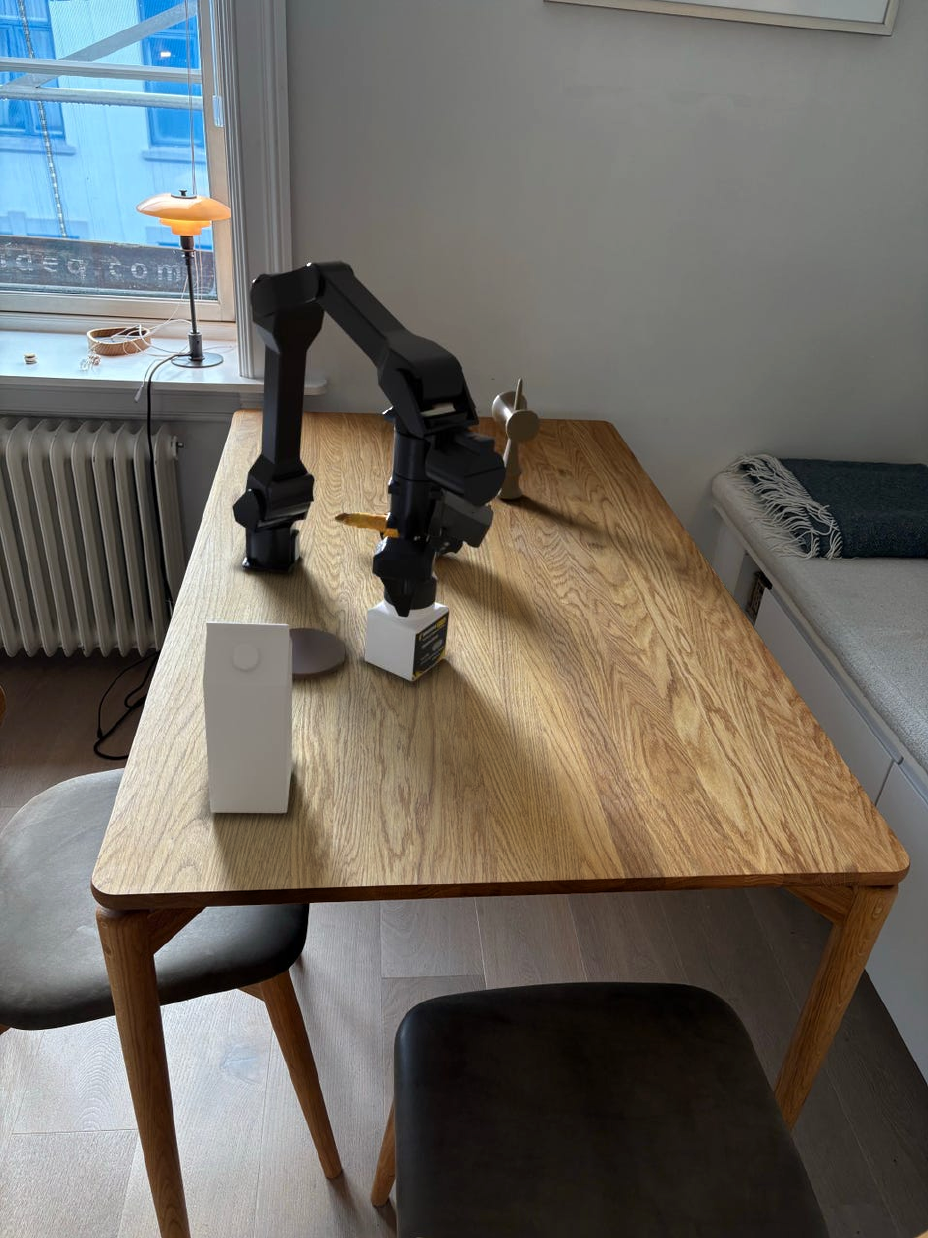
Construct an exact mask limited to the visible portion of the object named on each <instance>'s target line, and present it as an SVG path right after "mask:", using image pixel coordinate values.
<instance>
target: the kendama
mask: <svg viewBox="0 0 928 1238" xmlns="http://www.w3.org/2000/svg"><path fill="white" fill-rule="evenodd" d="M523 383H524V382H523V379H522V378H519V380H518V383H517V388H516V391H515V390H507V391H506V390H505V391H503V392H501V393H500V394H498V395H497V396H496V397H495V399H494V400H493V403H492V406H491V413H492V417H493V419H494V422H496V423H497V424H498V425H500V426H504V427H505V433H506V436H507V437H508V439H507V444H506V447H505V451H504V454H503V456H502V458H503V460H504V463H505V468H506V477H505V481H504V483H503V486H502V488H501V490H500V491H499V493H498V494H497V495H496V496H495V497H496V498H499V499H503V500H516V499H519V498H521V497H522V495H523V492H522V488H521V487H520V476H521V475H522V474H523V472H524V471H523V468H522V467H521V465H520V456H519V455H520V454H519V444H526V443H529V442H532V441H533V440H535V438H536V437H537V436H538V435H539V431H540V429H541V424H540V423H541V420H540V417H539V416H538V414H537V413H536V412H534V411H533V410H529V409H528V401H527V399H526V396H525V395H524V394H523V385H524V384H523Z"/></svg>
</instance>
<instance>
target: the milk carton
mask: <svg viewBox="0 0 928 1238" xmlns="http://www.w3.org/2000/svg"><path fill="white" fill-rule="evenodd" d="M205 622H206V624H205V625H206V637H205V638H206V639H205V650H204V662H203V672H202V690H203V691H202V692H203V707H204V709H203V710H204V724H205V725H204V726H205V727H204V728H205V741H206V758H207V759H206V760H207V776H208V792H209V793H208V794H209V795H208V796H209V810H210V812H211V813H217V814H218V813H221V814H222V813H224V814H226V813H227V814H230V813H231V814H286V813H287V812H288V807H289V806H288V804H289V795H290V785H291V777H292V768H293V678H292V640H291V637H290V635H289V629H290V624H289V623H269V622H268V623H265V622H237V621H236V622H235V621H210V620H209V621H205Z"/></svg>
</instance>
